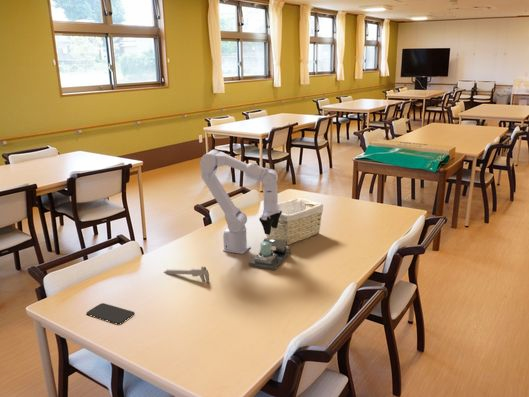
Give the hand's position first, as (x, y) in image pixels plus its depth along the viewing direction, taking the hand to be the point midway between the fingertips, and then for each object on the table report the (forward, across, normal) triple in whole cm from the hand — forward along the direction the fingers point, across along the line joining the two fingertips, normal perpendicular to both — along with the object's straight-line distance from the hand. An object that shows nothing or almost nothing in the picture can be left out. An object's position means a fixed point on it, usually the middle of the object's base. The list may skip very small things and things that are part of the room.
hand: (271, 230), depth 187 cm
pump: (+6, -12, -2) cm, 13 cm away
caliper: (+10, -33, +21) cm, 40 cm away
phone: (+10, -64, +30) cm, 71 cm away
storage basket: (+10, +20, -3) cm, 23 cm away
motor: (+9, -7, -2) cm, 12 cm away
